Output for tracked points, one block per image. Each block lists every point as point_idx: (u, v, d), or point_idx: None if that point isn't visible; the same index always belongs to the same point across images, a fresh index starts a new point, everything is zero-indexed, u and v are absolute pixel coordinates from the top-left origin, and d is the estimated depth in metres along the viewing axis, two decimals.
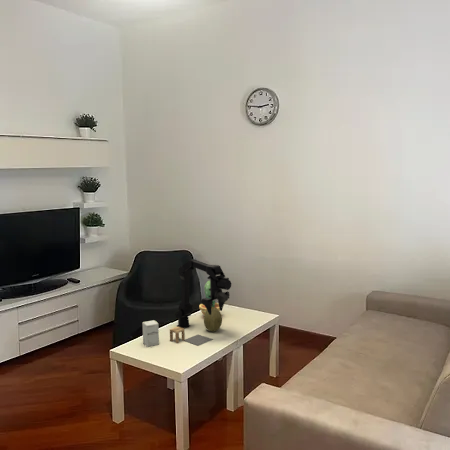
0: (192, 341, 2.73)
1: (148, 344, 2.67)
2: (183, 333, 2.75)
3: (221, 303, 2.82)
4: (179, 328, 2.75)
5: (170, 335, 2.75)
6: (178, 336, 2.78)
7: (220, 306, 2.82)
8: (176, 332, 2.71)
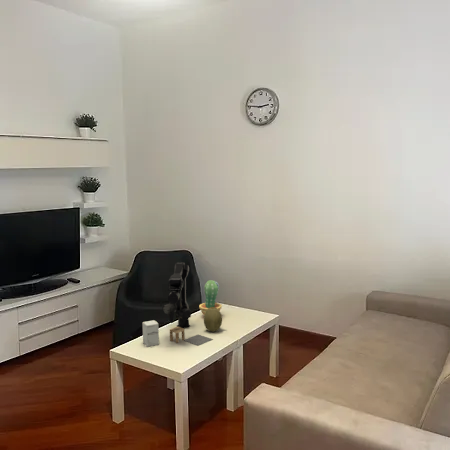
0: (192, 341, 2.73)
1: (148, 344, 2.67)
2: (183, 333, 2.75)
3: None
4: (179, 328, 2.75)
5: (170, 335, 2.75)
6: (178, 336, 2.78)
7: None
8: (176, 332, 2.71)
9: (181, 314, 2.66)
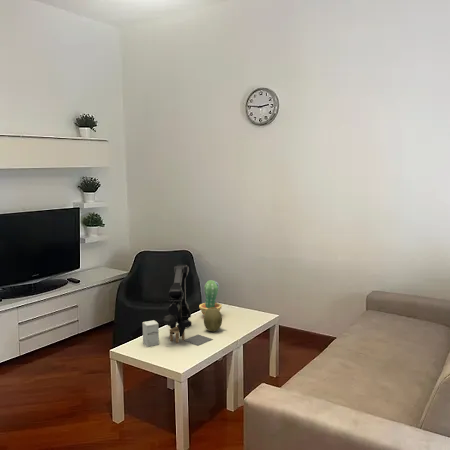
0: (192, 341, 2.73)
1: (148, 344, 2.67)
2: (183, 333, 2.75)
3: None
4: None
5: (170, 335, 2.75)
6: (178, 336, 2.78)
7: None
8: (176, 332, 2.71)
9: (181, 325, 2.67)
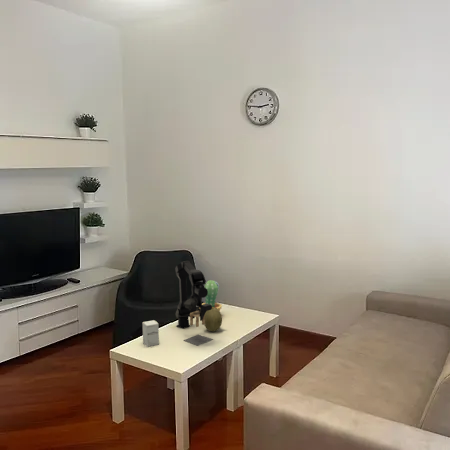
0: (192, 341, 2.73)
1: (148, 344, 2.67)
2: (203, 317, 2.73)
3: None
4: (199, 312, 2.74)
5: (190, 319, 2.73)
6: None
7: None
8: (197, 316, 2.69)
9: (202, 309, 2.66)
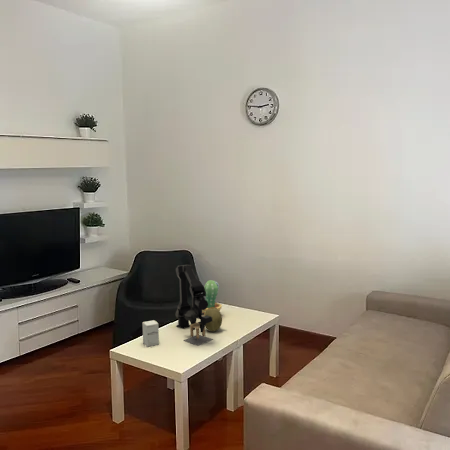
0: (192, 341, 2.73)
1: (148, 344, 2.67)
2: (204, 329, 2.74)
3: None
4: (199, 324, 2.75)
5: (191, 331, 2.74)
6: None
7: None
8: (197, 328, 2.70)
9: (202, 321, 2.67)
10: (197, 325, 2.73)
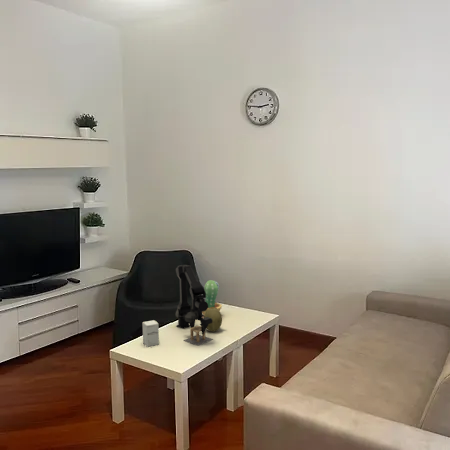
0: (192, 341, 2.73)
1: (148, 344, 2.67)
2: (204, 332, 2.74)
3: None
4: (200, 327, 2.75)
5: (191, 334, 2.74)
6: None
7: None
8: (197, 331, 2.70)
9: (203, 322, 2.67)
10: (197, 329, 2.73)
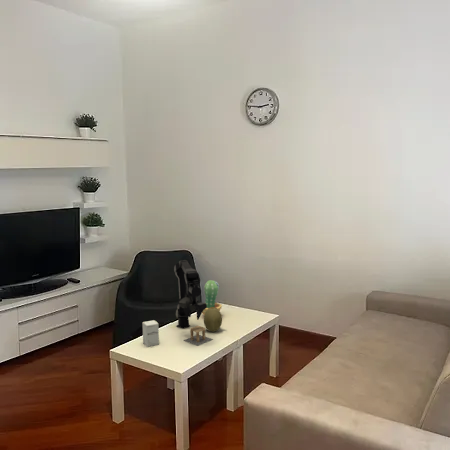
0: (192, 341, 2.73)
1: (148, 344, 2.67)
2: (204, 332, 2.74)
3: None
4: (200, 327, 2.75)
5: (191, 334, 2.74)
6: None
7: None
8: (197, 331, 2.70)
9: (197, 308, 2.68)
10: (197, 329, 2.73)
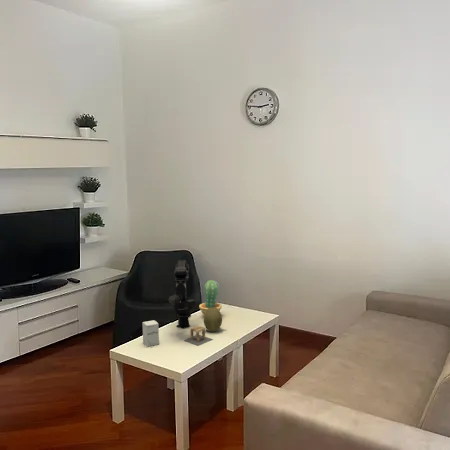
0: (192, 341, 2.73)
1: (148, 344, 2.67)
2: (204, 332, 2.74)
3: None
4: (200, 327, 2.75)
5: (191, 334, 2.74)
6: None
7: None
8: (197, 331, 2.70)
9: (186, 304, 2.73)
10: (197, 329, 2.73)
